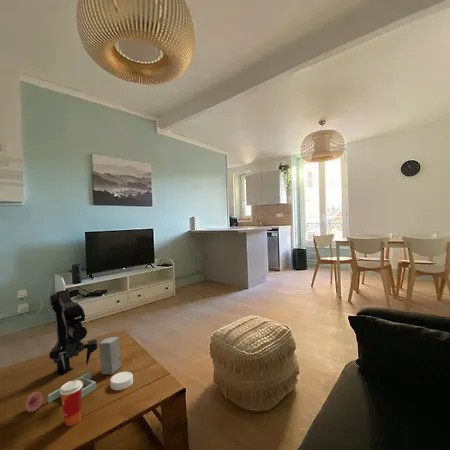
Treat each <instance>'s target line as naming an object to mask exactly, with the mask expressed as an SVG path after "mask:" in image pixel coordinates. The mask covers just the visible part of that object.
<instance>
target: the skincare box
mask: <svg viewBox="0 0 450 450" xmlns="http://www.w3.org/2000/svg"><path fill="white" fill-rule="evenodd" d="M98 348H99V359H100V373H101V374H102V375H112V376H114V375H113V374H115V373H116V372H117V371H118V370H119V369H120V368H121V367H122V362H121V361H122V360H121V359H122V358H121V351H120V348H121V347H120V337H118V336H109V337H107V338H105V339H103V340H102V341H101V342H99V343H98Z"/></svg>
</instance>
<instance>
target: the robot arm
mask: <svg viewBox="0 0 450 450" xmlns="http://www.w3.org/2000/svg"><path fill="white" fill-rule="evenodd" d="M48 305H49V307H50V309H51V310H52V312H53V313H54V318H55V331H56V343H55V344H54V346H53V347H51V350H50V351H49V356H48V357H49V360H52V362H53V364H54V365H56V369H55V370H54V371H53V373H55V374H57V375H60V376H61V375H64V374H66V373H68V372H70V371H72V370H73V368H74V367H72V366H71V363H70V359H71V358H74V357H77V356H79V354H80V353H81V352H84V350H86V349H87V350H86V359H85V365H86V366H88V364H89V360H90V357H91V354H92V353H94V352H95V351H96V350H97V349H98V346H99V343H98V340H97V339H92V340H88V341H87V343H84V342H83V341H82V340H83V339H84V338H86V337H87V334H88V330H87V328H86V327H85V326H84V325H83V324H82V322H85V321H86V319H85V318H86V314H85V311H84V309H83V306H81V304H79V303H78V302H74V301H73V299H72V298H71V297H70V295H69V292H68V290H67V289H66V290H65V289H64V290H59V291H56V292H55V293H53V294H52V295H50V296H49V298H48Z"/></svg>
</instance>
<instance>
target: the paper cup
mask: <svg viewBox="0 0 450 450" xmlns="http://www.w3.org/2000/svg"><path fill="white" fill-rule="evenodd" d="M74 380H75V381H74ZM74 380H70V381H67V382H65V383H64V384H63V385H61V387H60V388H61V390H60V394H61V397H60V398H61V406H62V413H63V419H64V420H63V421H64V425H65V426H66V427H72V426H75V425H76V424H78V423H79V422H81V419H82V398H81V391H82V383H81V382H80V381H79V380H77V381H76V379H74Z"/></svg>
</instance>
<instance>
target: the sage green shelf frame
mask: <svg viewBox="0 0 450 450" xmlns="http://www.w3.org/2000/svg"><path fill="white" fill-rule="evenodd" d="M75 380H81V381H82V382H83V384H84V386H85V387H84V386H83V389H82V391H81V399H82V398H85V396H88V395H89V394H90V393H92V392H93V391H95V390H96V389H97V381H94V380H92V371H89V372H87V373H85V374H83V375H81V376H79V377H78V378H76V379H74V380H73V381H75ZM60 390H61V387H60V388H58V389H57V390H54V391H53V392H51V393H49V394H47V403H51V402H53V401H55V400H56V399H58V398H61V394H60Z"/></svg>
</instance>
